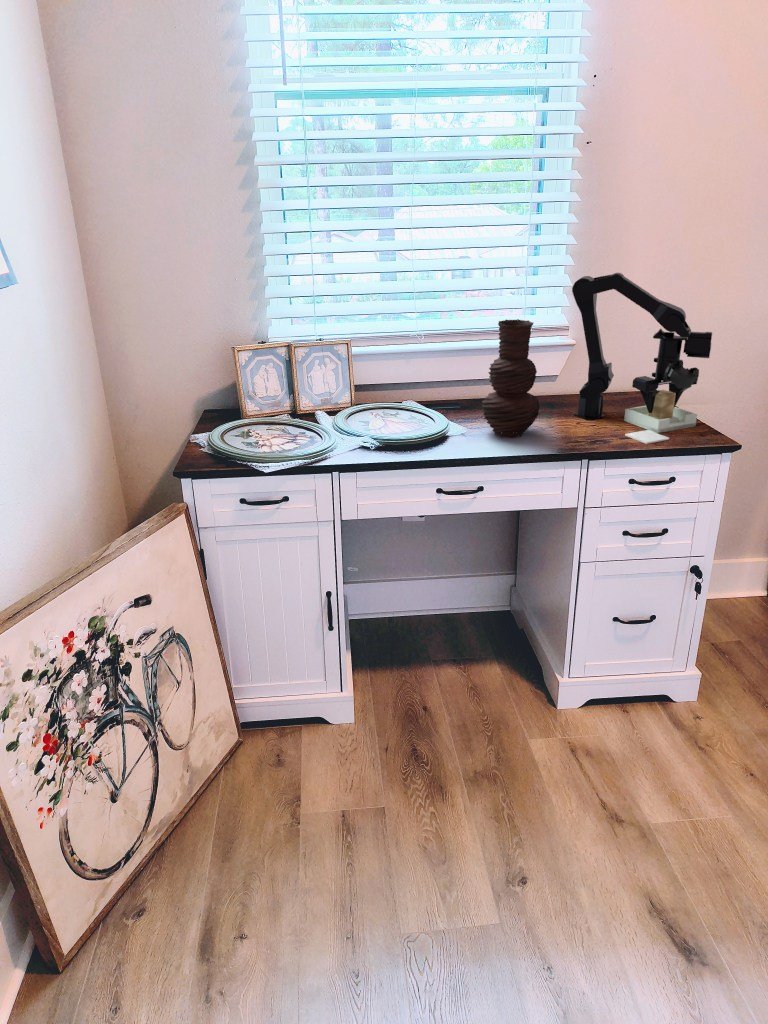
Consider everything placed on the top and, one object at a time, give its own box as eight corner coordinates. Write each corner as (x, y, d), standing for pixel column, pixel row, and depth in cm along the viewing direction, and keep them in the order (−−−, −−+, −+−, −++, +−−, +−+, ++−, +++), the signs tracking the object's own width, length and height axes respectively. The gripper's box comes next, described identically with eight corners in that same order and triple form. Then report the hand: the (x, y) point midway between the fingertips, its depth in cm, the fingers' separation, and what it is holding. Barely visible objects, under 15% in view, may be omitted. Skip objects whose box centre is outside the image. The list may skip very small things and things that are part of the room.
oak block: (660, 419, 210) (663, 395, 207) (648, 415, 214) (651, 391, 211) (672, 417, 212) (675, 393, 209) (660, 413, 216) (663, 389, 213)
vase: (468, 433, 208) (472, 321, 195) (506, 421, 217) (512, 315, 204) (511, 446, 197) (518, 329, 185) (549, 434, 206) (558, 322, 194)
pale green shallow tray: (657, 433, 206) (658, 420, 204) (624, 420, 216) (625, 408, 215) (695, 426, 211) (697, 414, 210) (661, 414, 222) (662, 402, 221)
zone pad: (646, 443, 198) (646, 442, 198) (624, 435, 204) (625, 433, 204) (669, 439, 201) (669, 438, 201) (647, 431, 207) (647, 429, 207)
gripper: (664, 365, 196) (656, 423, 202) (717, 357, 203) (707, 413, 209) (634, 356, 205) (627, 412, 211) (685, 350, 212) (677, 404, 219)
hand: (660, 410), depth 212 cm, fingers open, 8 cm apart
